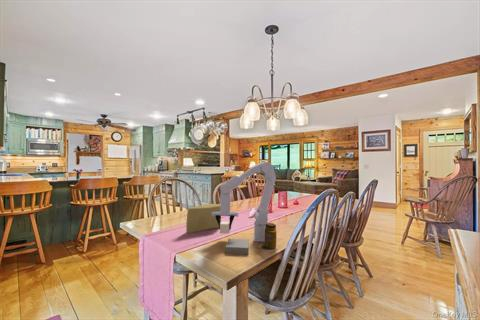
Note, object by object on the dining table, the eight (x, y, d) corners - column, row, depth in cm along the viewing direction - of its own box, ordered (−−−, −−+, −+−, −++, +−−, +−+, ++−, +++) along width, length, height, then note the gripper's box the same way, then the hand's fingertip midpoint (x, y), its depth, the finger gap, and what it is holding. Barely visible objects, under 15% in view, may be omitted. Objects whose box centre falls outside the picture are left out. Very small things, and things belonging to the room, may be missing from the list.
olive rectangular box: (190, 235, 130) (190, 209, 130) (183, 230, 138) (183, 206, 137) (221, 227, 144) (221, 205, 144) (213, 224, 152) (213, 202, 152)
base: (248, 244, 117) (248, 239, 117) (248, 254, 106) (248, 247, 106) (228, 244, 118) (228, 238, 118) (225, 253, 107) (225, 247, 107)
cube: (229, 230, 126) (230, 221, 126) (229, 233, 121) (229, 224, 121) (221, 230, 126) (221, 221, 126) (219, 233, 121) (220, 224, 121)
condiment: (279, 247, 115) (279, 224, 115) (270, 252, 109) (271, 228, 108) (267, 243, 120) (268, 221, 120) (258, 248, 113) (258, 225, 113)
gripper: (211, 205, 119) (210, 230, 120) (237, 206, 119) (237, 231, 119) (213, 203, 126) (213, 226, 127) (238, 203, 126) (238, 227, 126)
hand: (225, 228), depth 123 cm, fingers closed on cube, 5 cm apart
